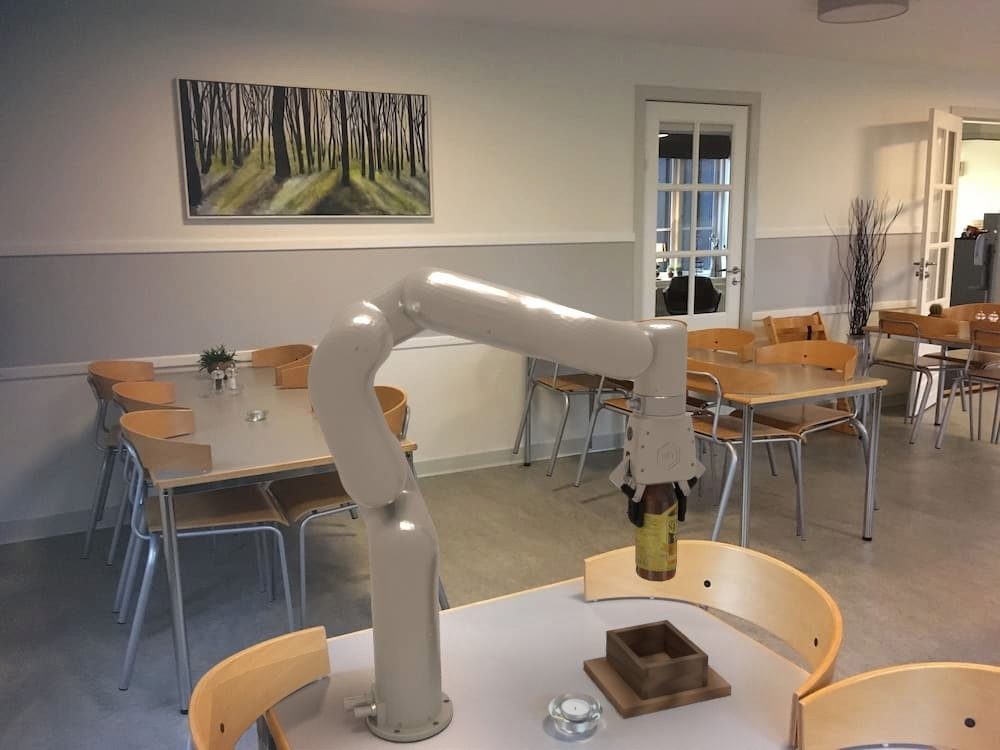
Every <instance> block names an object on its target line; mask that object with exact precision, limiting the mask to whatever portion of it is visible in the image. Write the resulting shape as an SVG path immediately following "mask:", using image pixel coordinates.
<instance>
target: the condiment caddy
mask: <svg viewBox="0 0 1000 750" xmlns="http://www.w3.org/2000/svg"><path fill="white" fill-rule="evenodd" d="M605 635H606V637H605V639H606V640H605V641H606V642H605V644H606V646H605V652H606V654H605V656H601V657H596V658H590V659H585V660H583V671H584V672H585V673H586V674H587V675H588V677H589V678H590V679H591V681H592V682H593V683H594V684H595V685H596V687H597V688H598V689H599V691H600V692H601V693H602V694H603V696H605V698H606V699H607V700H608V701H609V703H610V704H611V705H612V707H613V708H614V709H615V710H616V711H617V712H618V714H619V715H620V716H621V717H622V718H623V719H624V718H625V719H628V718H633V717H638V716H641V715H645V714H646V715H647V714H650V713H654V712H660V711H664V710H669V709H674V708H678V707H683V706H687V705H690V704H695V703H699V702H704V701H708V700H713V699H714V700H715V699H718V698H722V697H727V696H730V695H732V684H731V683H729V682H728V681H727V680H726V679H724V677H722V676H721V675H720V674H719V673H718V672H717V671H716V670H715V669H713V667H712V666H710V665H709V655H708V654H707V653H706V652H705V651H703V650H702V649H701V648H700V647H699V646H698V645H696V643H695V642H693V641H692V640H691V639H690V638H689V637H688V636H686V635H685V634H684V633H683V632H682V631H681V630H679V629H678V628H677V627H676V626H675V625H674V624H673V623H671V622H670V621H669V620H668V619H664V620H658V621H654V622H653V621H652V622H648V623H643V624H637V625H632V626H627V627H621V628H615V629H610V630H606V633H605Z"/></svg>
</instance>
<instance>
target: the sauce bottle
mask: <svg viewBox="0 0 1000 750" xmlns="http://www.w3.org/2000/svg"><path fill="white" fill-rule="evenodd" d="M641 501H643V502H644V526H643V527H641V528H638V527H637V526H635V545H634V546H635V548H634V549H635V550H634V552H635V555H634V556H635V558H634V559H635V560H634V561H635V573H636V574H637V576H638V577H639V578H640V579H643V580H646V581H650V582H659V583H660V582H667V581H669V580H672V579H673V578H674V577H676V574H677V566H678V534H679V533H678V530H679V529H678V528H679V527H678V526H679V521H678V498H677V495H676V493H675V490H674V487H673V484H672V483H664V484H655V485H646V487H645V489H644V492H643V494H642V497H641Z"/></svg>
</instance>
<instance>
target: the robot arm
mask: <svg viewBox="0 0 1000 750" xmlns="http://www.w3.org/2000/svg"><path fill="white" fill-rule="evenodd" d="M426 330H429V331H431V332H432V331H433V332H437V333H439V334H444V335H448V336H450V337H454V338H458V339H463V340H468V341H471V342H473V343H474V342H475V343H478V344H483V345H486V346H488V347H489V346H490V347H491V348H492V347H493V348H497V349H501V350H504V351H507V352H511V353H515V354H518V355H521V356H524V357H527V358H528V357H529V358H532V359H533V358H534V359H540V360H544V361H548V362H553V363H555V364H560V365H563V366H567V367H569V368H574V369H577V370H581V371H584V372H588V373H592V374H596V375H599V376H602V377H607V378H610V379H616V380H619V381H630V380H633V393H632V398H630V399H627V400H626V401H625V407H626V409H628V410H631V409H632V411H633V412H632V413H630V414H629V417H628V421H627V426H626V430H625V435H624V436H625V437H624V444H623V458H622V459H623V460H622V461H620V463H619V464H618V465H617V466H616V468H615V469H613V470H612V472H611V473H610V474H609V476H608V479H609V480H610V481H611V482H612V483H613V484H614V485H615V486H616V487H617V488H618V490H620V491H621V493H623V494H624V495H625V496H626V497H627V501H628V502H627V516H628V519H629V522H630V523H631V524H632V525H634V526H635V527H636V526H637V527H638V528H641V527H643V526H644V502H643V501H641V497H642V494H643V492H644V489H645V487H646V485H655V484H664V483H672V484H673V487H674V490H675V493H676V495H677V498H678V522H680V523H684V522H685V520H686V513H687V498H688V497H687V496H689V495H690V494H691V490H692V489H693V488H694V486H695V485H696V484H697V483H698V480H699V479H700V477H701V476H702V475H704V473H705V471H706V469H707V467H706V466H705V465H704V464H703V463H702V462H701V461H700V460H699V459H698V458H697V450H696V449H697V448H696V438H695V430H694V424H693V418H692V415H691V413H690V412H687V411H686V410H687V407H686V406H687V371H688V342H689V341H688V338H689V337H688V335H689V333H688V328H687V327H686V324H684V323H683V322H681V321H679V320H672V319H650V320H644V321H641V322H639V321H636V322H635V321H622V320H613V319H609V318H606V317H602V316H598V315H595V314H591V313H587V312H584V311H581V310H578V309H575V308H571V307H570V306H569V307H568V306H565V305H563V304H559V303H557V302H553V301H552V300H550V299H548V298H545V297H542V296H540V295H536V294H533V293H531V292H527V291H523V290H520V289H517V288H513V287H509V286H506V285H503V284H498V283H496V282H492V281H488V280H484V279H481V278H478V277H474V276H472V275H471V276H470V275H468V274H464V273H461V272H458V271H453V270H450V269H447V268H446V269H445V268H441V267H436V266H425V267H420V268H417V269H415V270H413V271H412V272H410V273H408V274H406V275H405V276H403V277H401V278H398V279H397V280H395V281H393V282H391V283H389V284H388V285H385V286H384V287H382V288H379V289H377V290H375V291H374V292H371V293H370V294H368V295H365V296H364V297H362V298H359V299H358V300H356V301H354V302H352V303H350V304H348V305H347V306H344V307H342V309H340V310H339V311H338V312H336V314H335V315H334V317H333V318H332V320H331V323H330V326H329V329H328V331H326V333H325V334H324V336H323V337H322V339H321V340H320V342H319V343H318V344H317V346H316V348H315V349H314V351H313V353H312V357H311V359H310V363H309V367H308V372H307V391H308V396H309V400H310V404H311V407H312V409H313V413H314V414H315V416H316V419H317V423H318V424H319V427H320V429H321V432H322V434H323V438H324V440H325V442H326V445H327V446H326V447H328V450H329V453H330V455H331V457H332V459H333V460H332V461H334V465H335V468H336V470H337V472H338V473H337V474H338V476H339V479H340V482H341V485H342V487H343V489H344V490H345V491H346V494H348V496H349V497H350V498H351V499H352V500H353V501H354V502H355V504H356V506H357V509H358V511H359V513H360V515H361V518H362V520H363V522H364V525H365V528H366V537H367V544H368V560H369V561H368V562H369V563H368V564H369V576H370V580H369V581H370V601H371V603H370V604H371V606H370V607H371V620H372V636H373V637H372V639H373V640H372V641H373V659H374V678H375V679H374V681H375V682H373V683H371V684H370V689H371V690H369V691H365V692H364V695H363V694H362V695H357V696H356V695H355V696H350V697H349V696H348V697H344V698H343V699H342V707H343V712H344V713H345V714H346V713H350V712H353V714H354V719H356V720H357V719H362V718H365V722H366V725H367V728H369V730H370V731H371V732H372V733H373V734H374V735H376V736H378V737H380V738H382V739H386V740H388V741H394V742H404V743H405V742H416V741H420V740H421V741H422V740H424V739H427V738H430V737H433V736H434V735H437V734H438V733H439V732H441V731H442V730H444V729H446V727H447V726H448V725H449V723H450V722H451V721H452V719H453V715H454V707H453V701H452V699H451V698H450V696H449V695H448V694H447V693H446V692H444V691H442V690H443V688H442V687H443V686H442V658H441V655H442V654H441V651H442V650H441V627H440V623H441V620H440V603H439V601H440V600H439V599H440V598H439V595H440V594H439V580H440V579H439V578H440V577H439V576H440V560H441V558H440V555H441V553H440V550H441V549H440V543H439V537H438V532H437V530H436V527H435V524H434V521H433V519H432V516H431V514H430V512H429V509H428V507H427V504H426V502H425V500H424V498H423V497H424V496H423V495H422V492H421V490H420V487H419V485H418V483H417V480H416V478H415V476H414V475H415V474H414V473H413V471H412V469H411V466H410V464H409V461H408V458H407V456H406V453H405V451H404V449H403V446H402V444H401V442H400V440H399V439H398V437H397V436H396V435H395V433H393V432H392V431H391V429H390V426H389V424H388V422H387V419H386V418H385V414H384V412H383V408H382V406H381V404H380V401H379V399H378V397H377V394H376V393H377V392H376V390H375V378H376V375H377V373H378V371H379V369H380V368H381V367H382V366H383V365H384V363H385V362H386V361H387V360H388V359H389V357H390V356H391V353H392V351H393V348H395V347H397V346H398V345H401V344H402V343H405V342H407V341H409V340H410V339H412V338H415V337H416V336H418V335H419V334H421V333H423V332H425V331H426ZM624 477H627V478H629V481H628V483H627V482H625V480H624Z"/></svg>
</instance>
